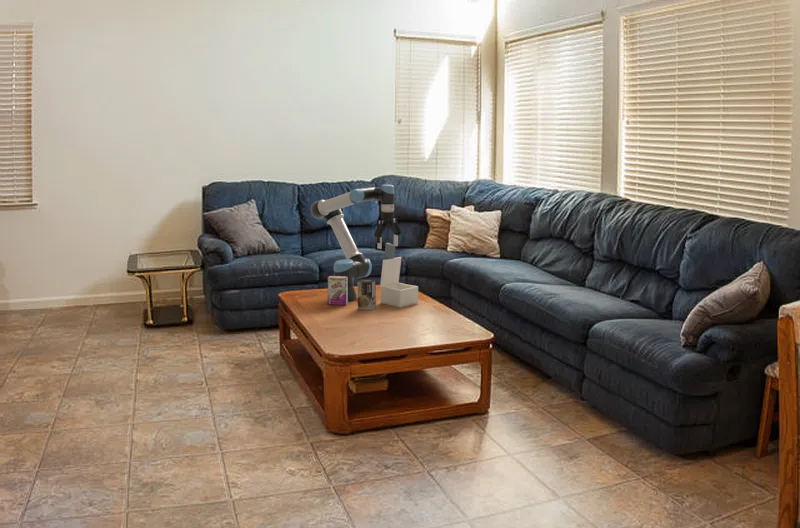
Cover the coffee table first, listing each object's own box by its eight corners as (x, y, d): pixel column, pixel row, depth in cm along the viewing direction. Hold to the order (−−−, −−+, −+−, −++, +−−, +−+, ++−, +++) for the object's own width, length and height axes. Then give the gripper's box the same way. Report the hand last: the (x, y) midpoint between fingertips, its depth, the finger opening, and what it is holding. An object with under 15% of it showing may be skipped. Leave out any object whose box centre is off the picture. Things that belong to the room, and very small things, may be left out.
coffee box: (376, 307, 445) (376, 280, 442) (372, 310, 439) (372, 282, 436) (361, 306, 448) (361, 279, 445) (357, 309, 442) (357, 281, 439)
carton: (380, 303, 457) (380, 286, 455) (398, 298, 468) (398, 282, 466) (400, 307, 446) (400, 290, 444) (418, 303, 457) (418, 286, 455)
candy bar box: (327, 305, 452) (327, 277, 449) (329, 303, 457) (328, 275, 454) (346, 305, 451) (346, 277, 448) (348, 303, 456) (347, 276, 453)
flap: (380, 286, 455) (373, 283, 459) (398, 282, 466) (391, 279, 470) (385, 247, 448) (378, 244, 452) (403, 244, 459) (395, 241, 463)
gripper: (377, 213, 442) (377, 250, 446) (407, 210, 460) (406, 245, 464) (367, 212, 447) (368, 248, 451) (397, 209, 465) (397, 244, 469)
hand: (387, 247), depth 457 cm, fingers open, 13 cm apart
